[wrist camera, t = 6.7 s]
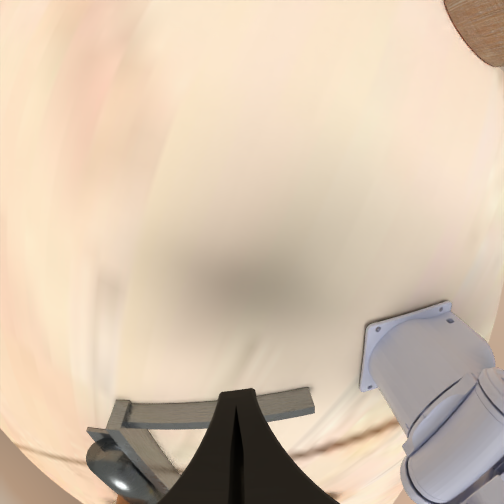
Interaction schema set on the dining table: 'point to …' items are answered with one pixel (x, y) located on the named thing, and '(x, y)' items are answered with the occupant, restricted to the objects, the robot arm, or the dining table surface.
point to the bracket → (121, 500)
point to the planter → (480, 27)
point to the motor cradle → (148, 452)
